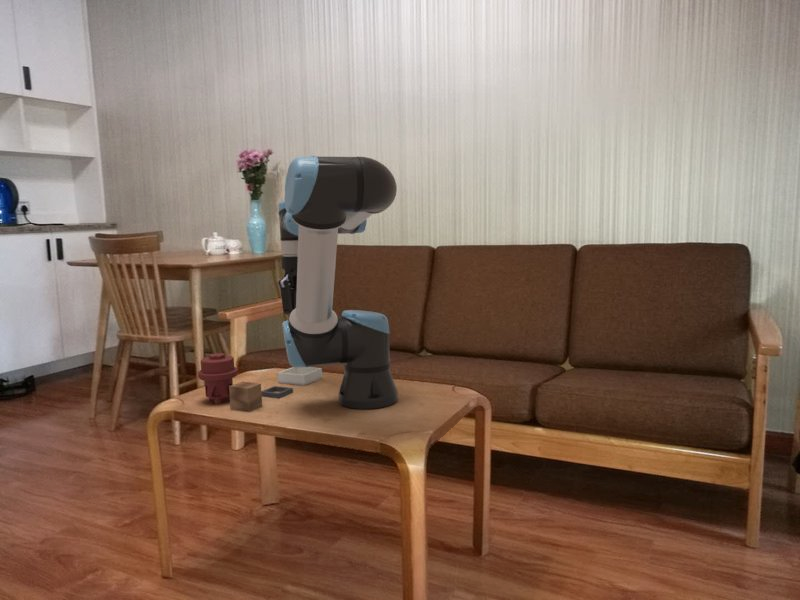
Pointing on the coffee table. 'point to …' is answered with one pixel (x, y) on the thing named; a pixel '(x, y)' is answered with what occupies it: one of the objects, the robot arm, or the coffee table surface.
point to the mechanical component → (218, 376)
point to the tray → (300, 375)
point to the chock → (245, 396)
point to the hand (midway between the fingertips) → (298, 335)
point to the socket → (282, 392)
